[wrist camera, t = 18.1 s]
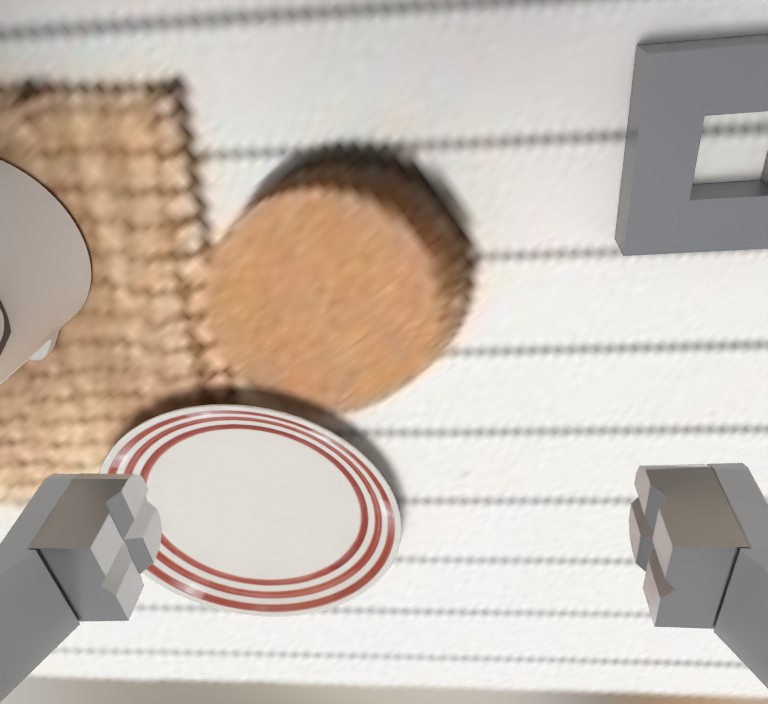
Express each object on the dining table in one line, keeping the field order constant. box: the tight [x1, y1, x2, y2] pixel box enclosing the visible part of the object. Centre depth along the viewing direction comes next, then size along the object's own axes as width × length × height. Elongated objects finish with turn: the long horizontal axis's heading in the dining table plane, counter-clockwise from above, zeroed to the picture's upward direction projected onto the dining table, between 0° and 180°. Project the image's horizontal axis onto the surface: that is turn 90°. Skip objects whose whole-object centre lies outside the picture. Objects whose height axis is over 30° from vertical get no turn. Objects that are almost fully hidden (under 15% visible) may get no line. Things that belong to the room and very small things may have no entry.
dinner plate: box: [99, 404, 401, 616], centre depth 61 cm, size 27×27×3 cm
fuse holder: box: [615, 34, 768, 256], centre depth 39 cm, size 12×12×2 cm
